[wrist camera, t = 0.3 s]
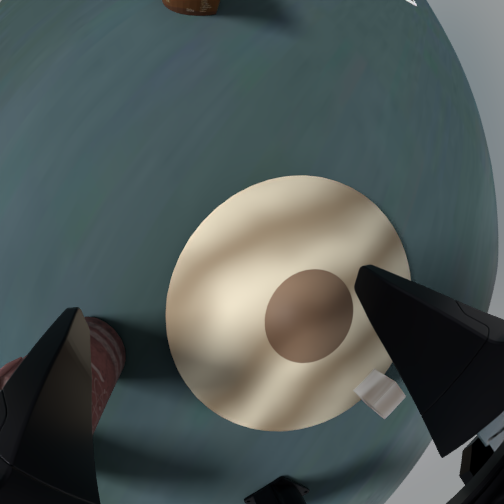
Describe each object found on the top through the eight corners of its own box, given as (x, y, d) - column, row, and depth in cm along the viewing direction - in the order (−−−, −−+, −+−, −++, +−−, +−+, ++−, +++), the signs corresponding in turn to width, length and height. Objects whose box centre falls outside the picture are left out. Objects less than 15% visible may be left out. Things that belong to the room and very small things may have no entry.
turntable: (430, 312, 27) (461, 320, 22) (289, 456, 24) (306, 485, 19) (314, 131, 23) (340, 109, 18) (110, 305, 20) (90, 322, 15)
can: (98, 299, 21) (6, 361, 7) (140, 360, 21) (102, 471, 8) (54, 331, 20) (-37, 398, 6) (93, 387, 20) (40, 486, 7)
